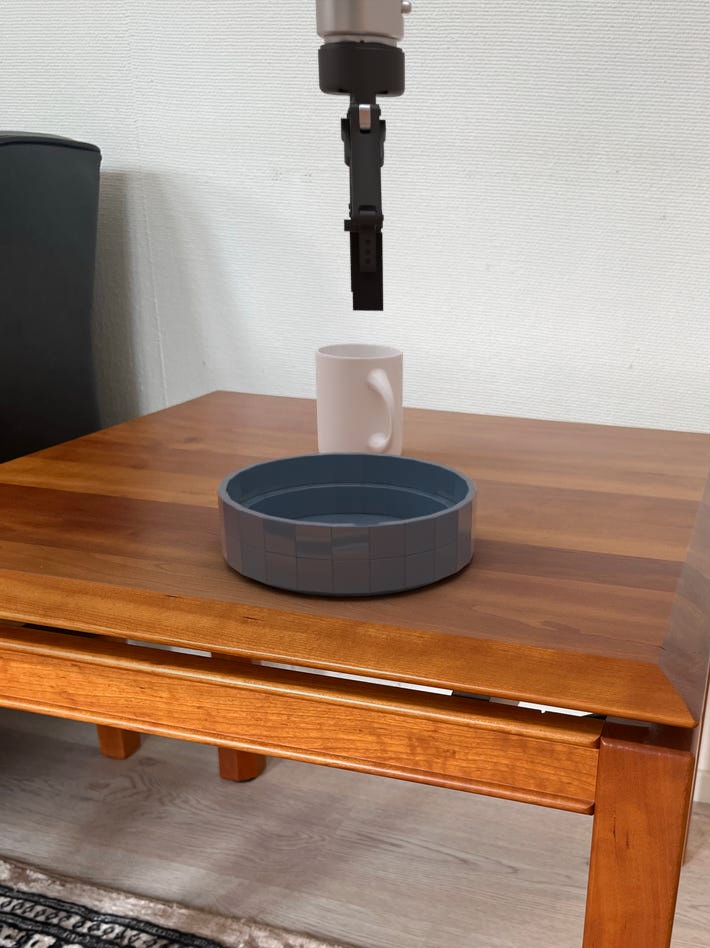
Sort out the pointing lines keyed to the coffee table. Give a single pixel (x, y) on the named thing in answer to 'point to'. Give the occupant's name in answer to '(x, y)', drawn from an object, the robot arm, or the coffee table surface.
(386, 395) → the mug
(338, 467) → the bowl
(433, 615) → the coffee table surface
